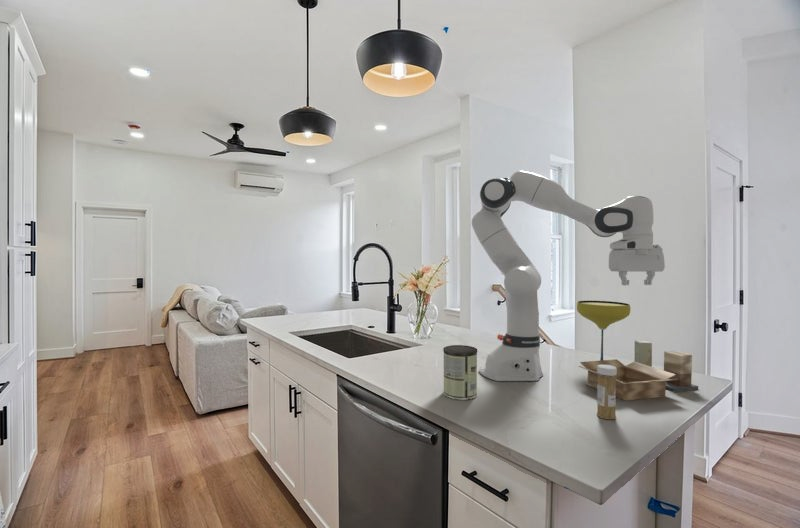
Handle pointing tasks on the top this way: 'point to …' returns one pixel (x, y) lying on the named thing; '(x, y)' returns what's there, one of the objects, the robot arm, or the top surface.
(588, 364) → the carton
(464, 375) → the coffee can
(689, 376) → the block
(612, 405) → the sprinkles bottle
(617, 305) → the cocktail glass
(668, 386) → the mat
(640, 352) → the box
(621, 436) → the top surface
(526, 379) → the robot arm
